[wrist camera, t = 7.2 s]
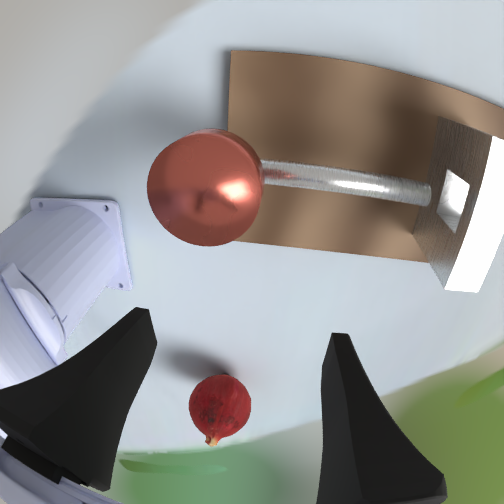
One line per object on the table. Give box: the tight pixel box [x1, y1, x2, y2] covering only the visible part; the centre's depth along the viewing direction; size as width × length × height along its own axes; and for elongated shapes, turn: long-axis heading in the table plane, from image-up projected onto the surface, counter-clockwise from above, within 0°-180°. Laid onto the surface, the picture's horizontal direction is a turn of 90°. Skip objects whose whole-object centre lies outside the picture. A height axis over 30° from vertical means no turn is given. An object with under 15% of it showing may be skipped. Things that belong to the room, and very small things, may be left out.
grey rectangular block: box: [412, 116, 504, 292], centre depth 14 cm, size 2×8×6 cm, turn 177°
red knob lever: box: [147, 129, 431, 246], centre depth 14 cm, size 12×4×7 cm, turn 87°
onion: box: [189, 374, 251, 447], centre depth 26 cm, size 6×6×8 cm
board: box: [228, 51, 504, 263], centre depth 17 cm, size 19×12×1 cm, turn 87°
